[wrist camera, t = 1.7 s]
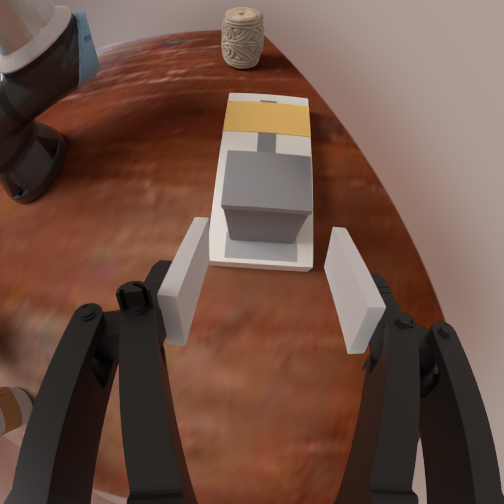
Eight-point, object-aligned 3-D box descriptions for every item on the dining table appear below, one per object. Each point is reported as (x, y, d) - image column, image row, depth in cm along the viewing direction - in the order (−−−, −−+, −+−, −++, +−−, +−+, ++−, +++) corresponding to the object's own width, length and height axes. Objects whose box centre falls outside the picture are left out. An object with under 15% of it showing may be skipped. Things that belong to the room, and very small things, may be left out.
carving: (266, 69, 43) (269, 18, 31) (225, 74, 42) (221, 21, 30) (258, 52, 44) (260, 4, 32) (221, 56, 44) (216, 8, 32)
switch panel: (307, 271, 34) (313, 267, 31) (210, 265, 34) (206, 260, 31) (304, 110, 40) (308, 98, 37) (230, 105, 40) (229, 92, 37)
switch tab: (293, 244, 31) (312, 211, 21) (229, 240, 31) (220, 204, 21) (294, 202, 32) (311, 156, 23) (233, 198, 32) (227, 150, 23)
